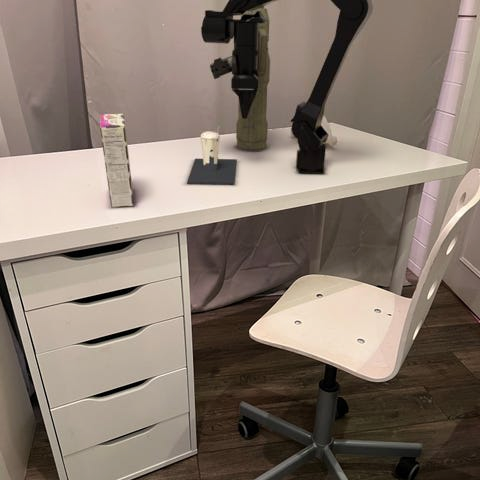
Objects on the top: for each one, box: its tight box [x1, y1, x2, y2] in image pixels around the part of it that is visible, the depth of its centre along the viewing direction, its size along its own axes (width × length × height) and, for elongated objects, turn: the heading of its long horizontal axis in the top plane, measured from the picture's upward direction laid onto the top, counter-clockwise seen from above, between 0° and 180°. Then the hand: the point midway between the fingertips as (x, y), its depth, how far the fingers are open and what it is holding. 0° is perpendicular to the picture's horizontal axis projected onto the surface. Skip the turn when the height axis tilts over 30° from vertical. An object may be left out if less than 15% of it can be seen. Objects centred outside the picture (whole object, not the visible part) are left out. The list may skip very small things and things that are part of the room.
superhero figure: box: [290, 115, 338, 148], centre depth 153 cm, size 10×9×20 cm
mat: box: [186, 158, 237, 186], centre depth 129 cm, size 11×20×1 cm, turn 179°
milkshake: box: [200, 125, 221, 172], centre depth 127 cm, size 5×5×10 cm
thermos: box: [235, 6, 271, 152], centre depth 141 cm, size 9×12×35 cm
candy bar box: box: [99, 113, 135, 209], centre depth 107 cm, size 11×5×16 cm, turn 12°
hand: (244, 114), depth 130 cm, fingers open, 9 cm apart
